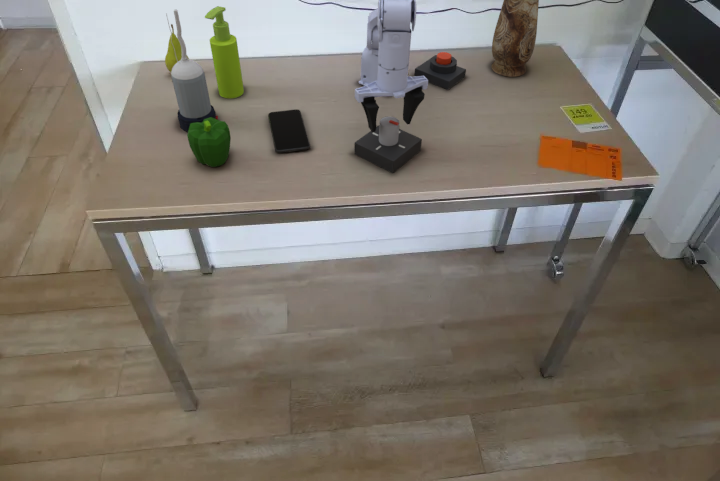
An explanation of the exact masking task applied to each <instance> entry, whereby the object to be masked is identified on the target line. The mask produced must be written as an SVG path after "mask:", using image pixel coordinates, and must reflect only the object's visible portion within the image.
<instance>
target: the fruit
mask: <svg viewBox="0 0 720 481" xmlns="http://www.w3.org/2000/svg"><path fill="white" fill-rule="evenodd" d="M170 28H171V32H172V43H171V35H170V36H169V40H168V46H167V52H166V55H165V58H164V63H165V67H166V69H167V71H168V72H170V73H171V71H172V68H173V66H174V65H175V64H176V63H177V62H178V61H180V60H181V58H182V49H181V45H180V42H179V40H178V38H177V34H175V32H174V30H175V29H174V24H173V23H170ZM172 44H173V45H172ZM173 46H174V48H173ZM174 49H175V51H174ZM175 53H176V56H175ZM176 57H177V59H176ZM186 57H187V58H188V59H190V58H189V56H188V54H186ZM177 60H178V61H177Z"/></svg>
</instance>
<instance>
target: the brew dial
mask: <svg viewBox="0 0 720 481" xmlns="http://www.w3.org/2000/svg"><path fill="white" fill-rule="evenodd" d="M400 122H401V121H400V120H399V118H397V117H395V116H383V117H381V118H380V120H379V124H378V125H379V142H380V143H381V144H382V145H385V146H393V145H395V144H397V143H398V136H399V129H400Z"/></svg>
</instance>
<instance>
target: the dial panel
mask: <svg viewBox="0 0 720 481" xmlns="http://www.w3.org/2000/svg"><path fill="white" fill-rule="evenodd" d="M379 125H380V124H378V125H376V131H375V132H372V131H371V130H370V131H368V132H367V133H366V134H364V135H363V136H362V137H361V138H359V139H357V140H356V141H354V148H353V149H354V155H355V156H357V157H359V158H361V159H363V160H365V161H367V162H369V163H370V164H373V165H375V166H377V167H379V168H381V169H382V170H385V171H387V172H389V173H392V174H394V173H395V172H397V171H398V170H399V169H400V168H402V167H403V166H404V165H405V164H407V163H408V162H409V161H410V160H411V159H413V158H414V157H415V156H416V155H417V154H418V153H420V152H421V151H422V144H423V139H422V138H421V137H419V136H417V135H415V134H413V133H409V132H407V131H405V130H403V129H402V128H399V136H398V143H397V144H395V145H393V146H385V145H382V144H381V143H380V142H379Z"/></svg>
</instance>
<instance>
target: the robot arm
mask: <svg viewBox="0 0 720 481" xmlns="http://www.w3.org/2000/svg"><path fill="white" fill-rule="evenodd" d="M416 21H417V0H378V1H377V8H376V9H374V10H372V11H370V12H369V15H368V16H367V24H366V46H365V47H364V49H363V51H362V53H361V56H360V80H358V84H359V85H361V87H356V88H354V99H355V100H356V102H357V103H360V104H361V106H362V108H363V111H364V113H365V116H366V121H367V126H368V129H369V130H370V131H372V132H375V131H376V127H377V117H378V113H379V109H380V106H379V104H377V100H376V99H375V98H379V97H394V98H395V99H401V98H403V109H402V120H403V121H404V123H405V124H406V125H411V122H412V120H413V117H414V115H415V113H416V111H417V109H418V107H419V106H420V104H421V103H422V102H423V101H424V100H425V97H426V96H425V95H426V94H425V92H424V91H425V90H428V88H429V82H428V79H427V78H426V77H425V76H414V75H413V76H411V75H409V66H410V56H411V42H412V32H414V30H415V26H416ZM423 90H424V91H423Z"/></svg>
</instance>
